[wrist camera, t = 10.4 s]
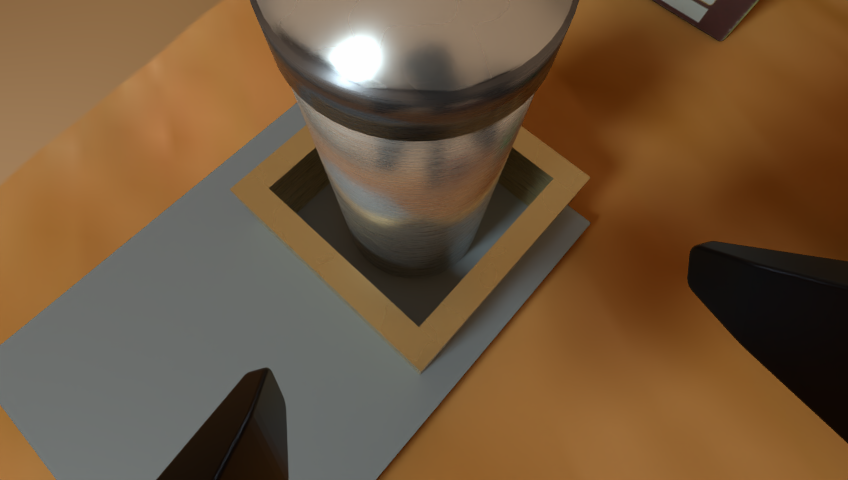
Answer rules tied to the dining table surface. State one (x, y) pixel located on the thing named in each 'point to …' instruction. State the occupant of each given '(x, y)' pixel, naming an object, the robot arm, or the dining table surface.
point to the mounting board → (245, 336)
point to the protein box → (711, 14)
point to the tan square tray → (276, 210)
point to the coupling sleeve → (414, 109)
